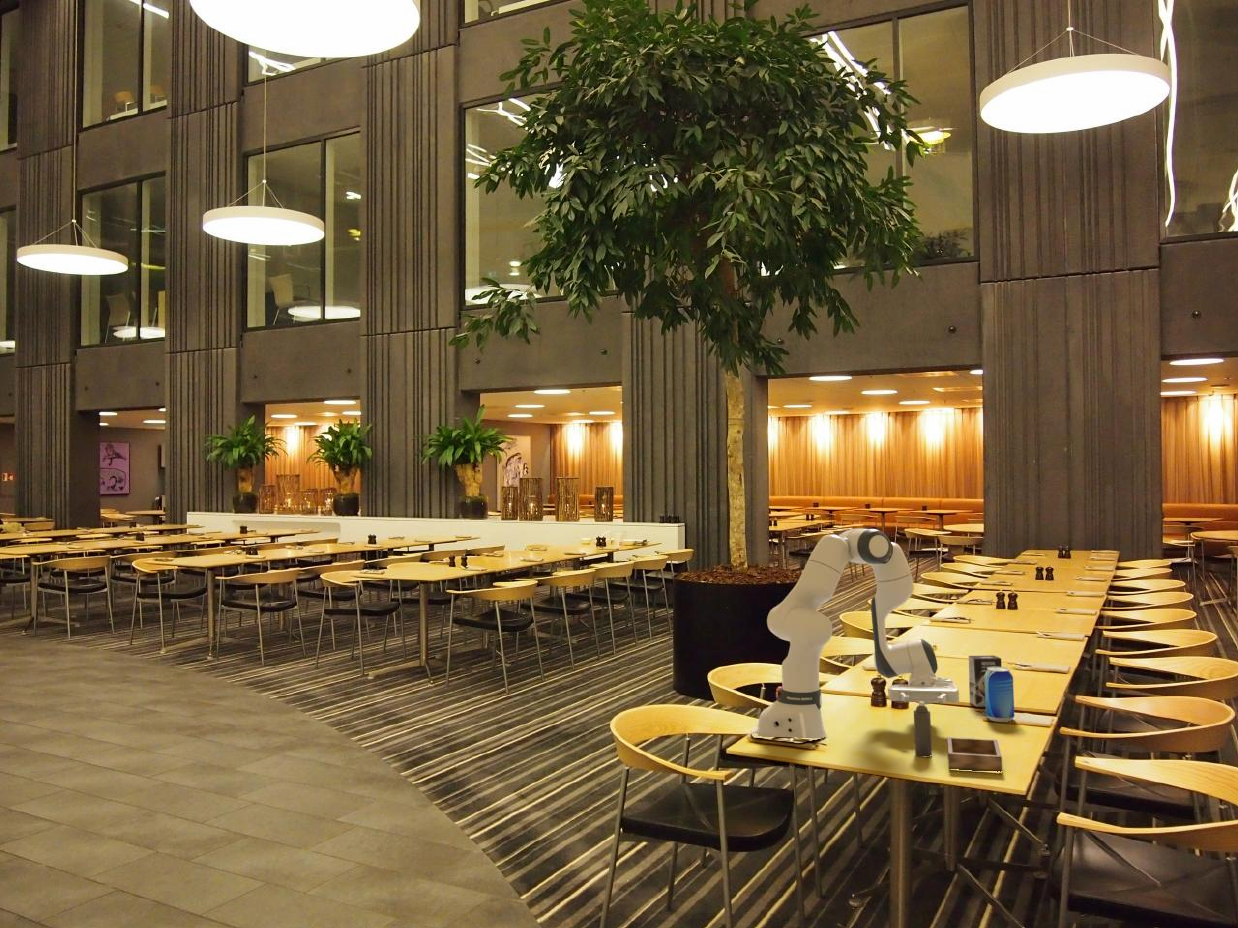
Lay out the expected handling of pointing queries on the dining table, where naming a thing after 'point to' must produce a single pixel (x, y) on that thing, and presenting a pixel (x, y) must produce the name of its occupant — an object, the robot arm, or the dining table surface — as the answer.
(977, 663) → the coffee box
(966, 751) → the box
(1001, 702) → the beer can
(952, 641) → the dining table surface
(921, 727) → the pepper mill
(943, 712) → the dining table surface
